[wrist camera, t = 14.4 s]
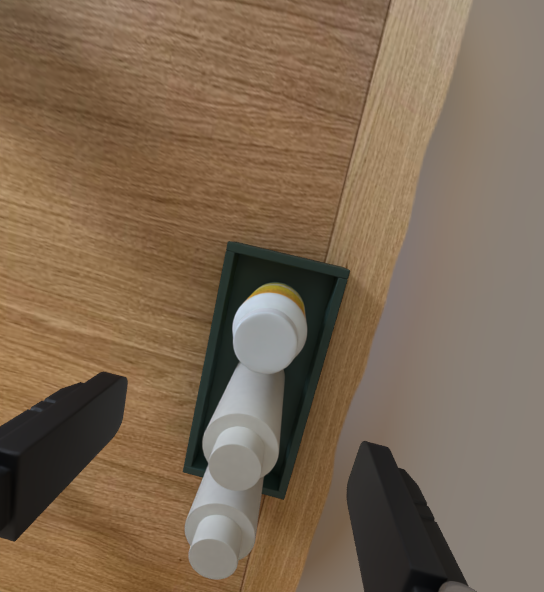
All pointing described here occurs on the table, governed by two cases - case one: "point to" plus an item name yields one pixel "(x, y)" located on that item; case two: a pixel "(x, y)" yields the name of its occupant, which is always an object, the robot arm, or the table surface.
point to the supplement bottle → (270, 328)
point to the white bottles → (235, 471)
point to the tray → (298, 374)
